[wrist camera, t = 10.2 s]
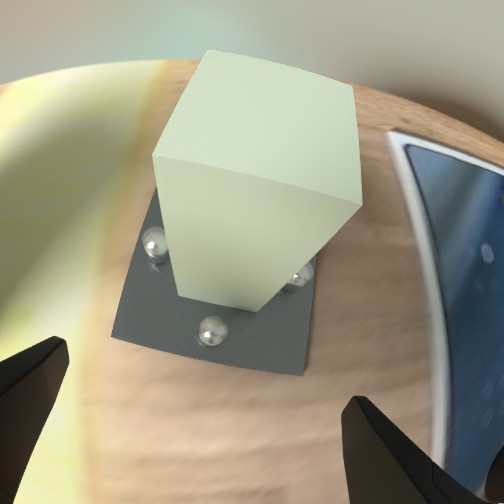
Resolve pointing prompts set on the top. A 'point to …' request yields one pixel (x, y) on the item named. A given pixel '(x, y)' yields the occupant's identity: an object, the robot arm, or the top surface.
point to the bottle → (496, 480)
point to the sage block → (254, 176)
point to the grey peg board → (210, 313)
